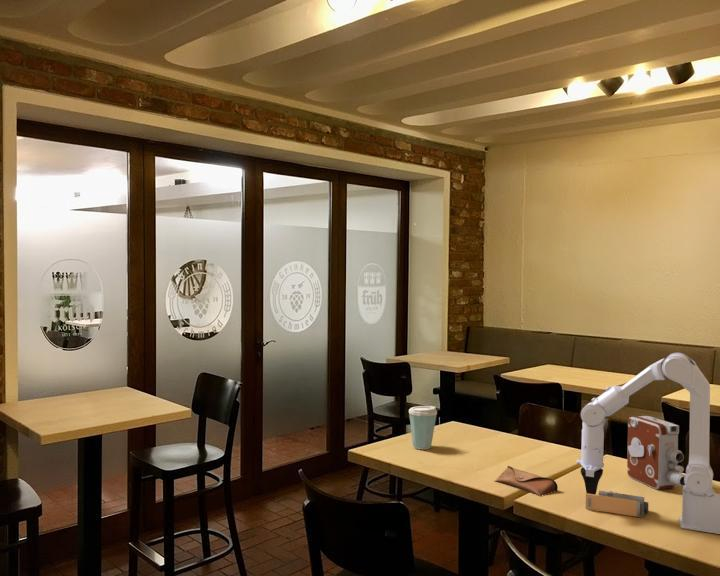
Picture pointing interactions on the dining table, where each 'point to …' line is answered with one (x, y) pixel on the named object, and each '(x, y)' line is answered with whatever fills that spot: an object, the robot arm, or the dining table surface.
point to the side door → (613, 505)
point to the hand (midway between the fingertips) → (591, 495)
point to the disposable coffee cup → (422, 425)
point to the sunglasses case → (527, 481)
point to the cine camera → (654, 452)
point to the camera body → (630, 497)
